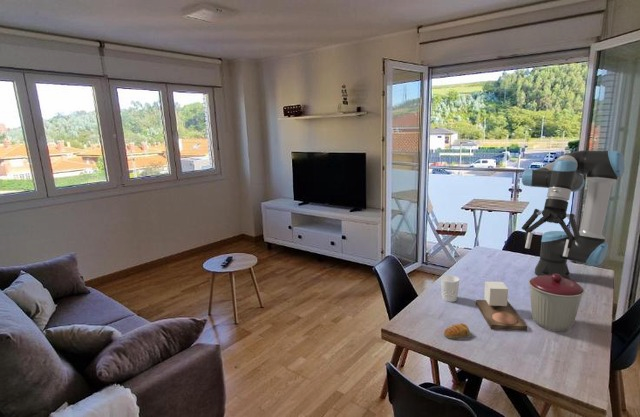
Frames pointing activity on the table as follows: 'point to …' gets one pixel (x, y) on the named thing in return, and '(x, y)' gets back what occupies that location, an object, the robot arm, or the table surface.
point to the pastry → (457, 331)
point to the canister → (554, 301)
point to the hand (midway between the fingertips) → (545, 252)
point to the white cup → (449, 287)
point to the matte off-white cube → (496, 293)
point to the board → (501, 317)
